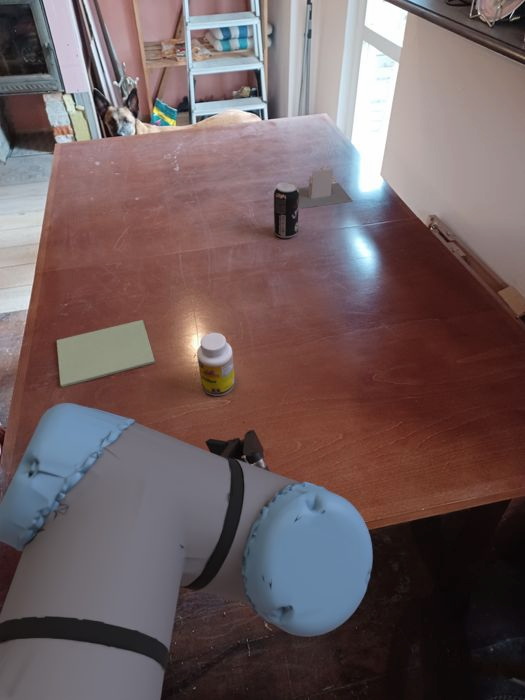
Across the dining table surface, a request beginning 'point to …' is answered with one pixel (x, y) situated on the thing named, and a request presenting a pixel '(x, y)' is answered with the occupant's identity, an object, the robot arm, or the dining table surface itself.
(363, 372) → the dining table surface
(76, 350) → the mat
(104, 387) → the dining table surface
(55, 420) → the robot arm
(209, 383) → the supplement bottle
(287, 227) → the beverage can
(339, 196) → the architectural model
